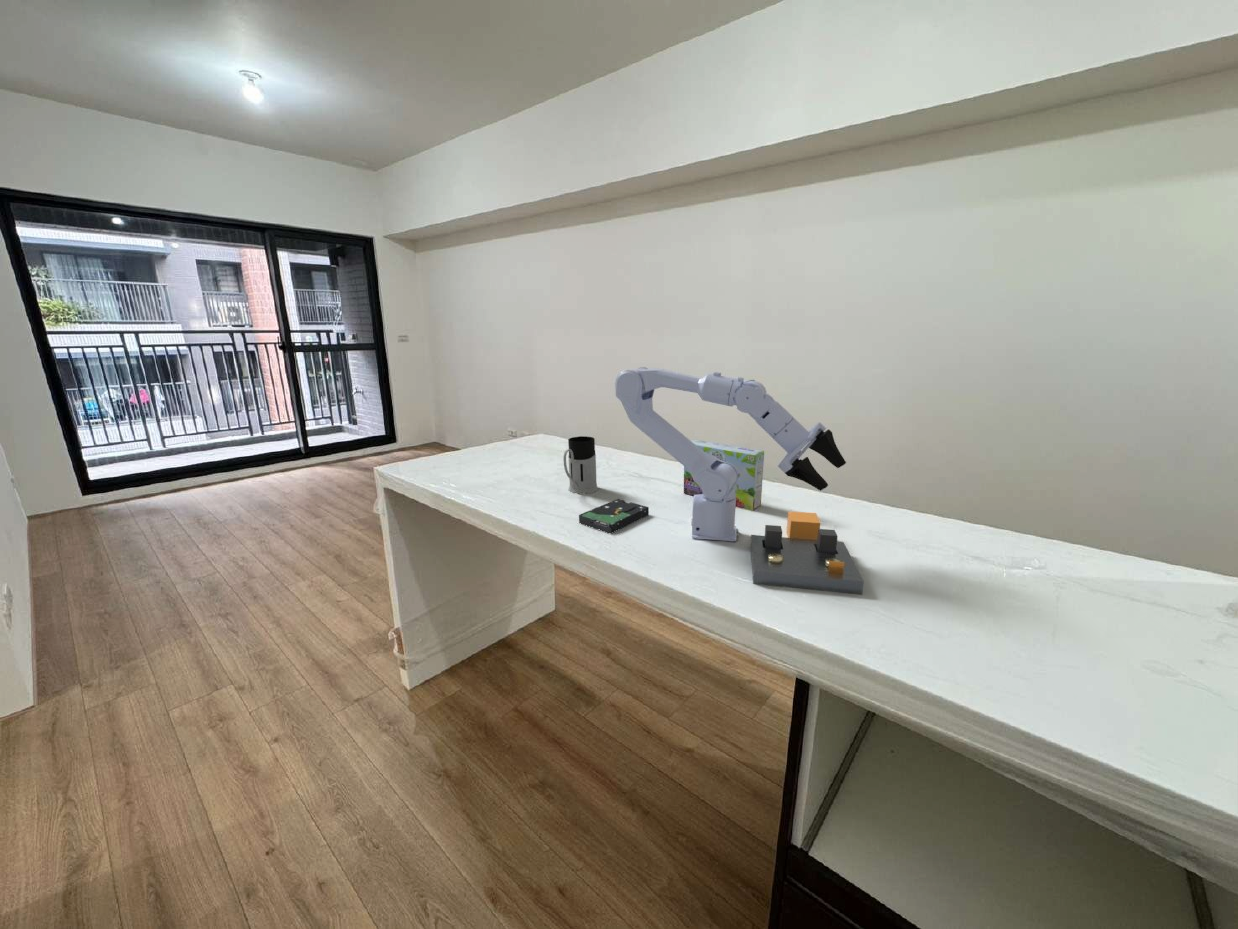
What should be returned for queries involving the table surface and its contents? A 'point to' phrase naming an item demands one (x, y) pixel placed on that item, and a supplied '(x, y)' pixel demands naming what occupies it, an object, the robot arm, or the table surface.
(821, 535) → the dark grey block
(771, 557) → the grey flat slab
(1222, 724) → the table surface
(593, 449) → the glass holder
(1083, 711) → the table surface
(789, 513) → the cap
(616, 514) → the disk drive
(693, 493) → the snack box
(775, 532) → the block
